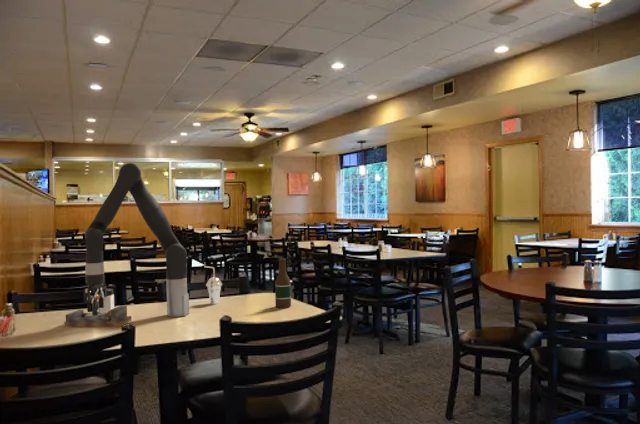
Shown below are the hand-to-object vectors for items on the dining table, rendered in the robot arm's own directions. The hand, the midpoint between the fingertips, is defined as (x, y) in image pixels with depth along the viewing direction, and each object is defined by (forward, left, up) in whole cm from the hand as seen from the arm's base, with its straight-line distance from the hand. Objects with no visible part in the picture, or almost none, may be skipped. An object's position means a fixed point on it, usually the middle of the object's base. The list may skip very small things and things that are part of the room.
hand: (95, 309), depth 214 cm
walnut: (-7, 0, -4) cm, 8 cm away
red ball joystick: (0, 0, -4) cm, 4 cm away
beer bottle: (-77, -36, -6) cm, 85 cm away
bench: (-1, 0, -6) cm, 6 cm away
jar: (+6, -17, -6) cm, 19 cm away
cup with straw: (-39, -44, -6) cm, 59 cm away
